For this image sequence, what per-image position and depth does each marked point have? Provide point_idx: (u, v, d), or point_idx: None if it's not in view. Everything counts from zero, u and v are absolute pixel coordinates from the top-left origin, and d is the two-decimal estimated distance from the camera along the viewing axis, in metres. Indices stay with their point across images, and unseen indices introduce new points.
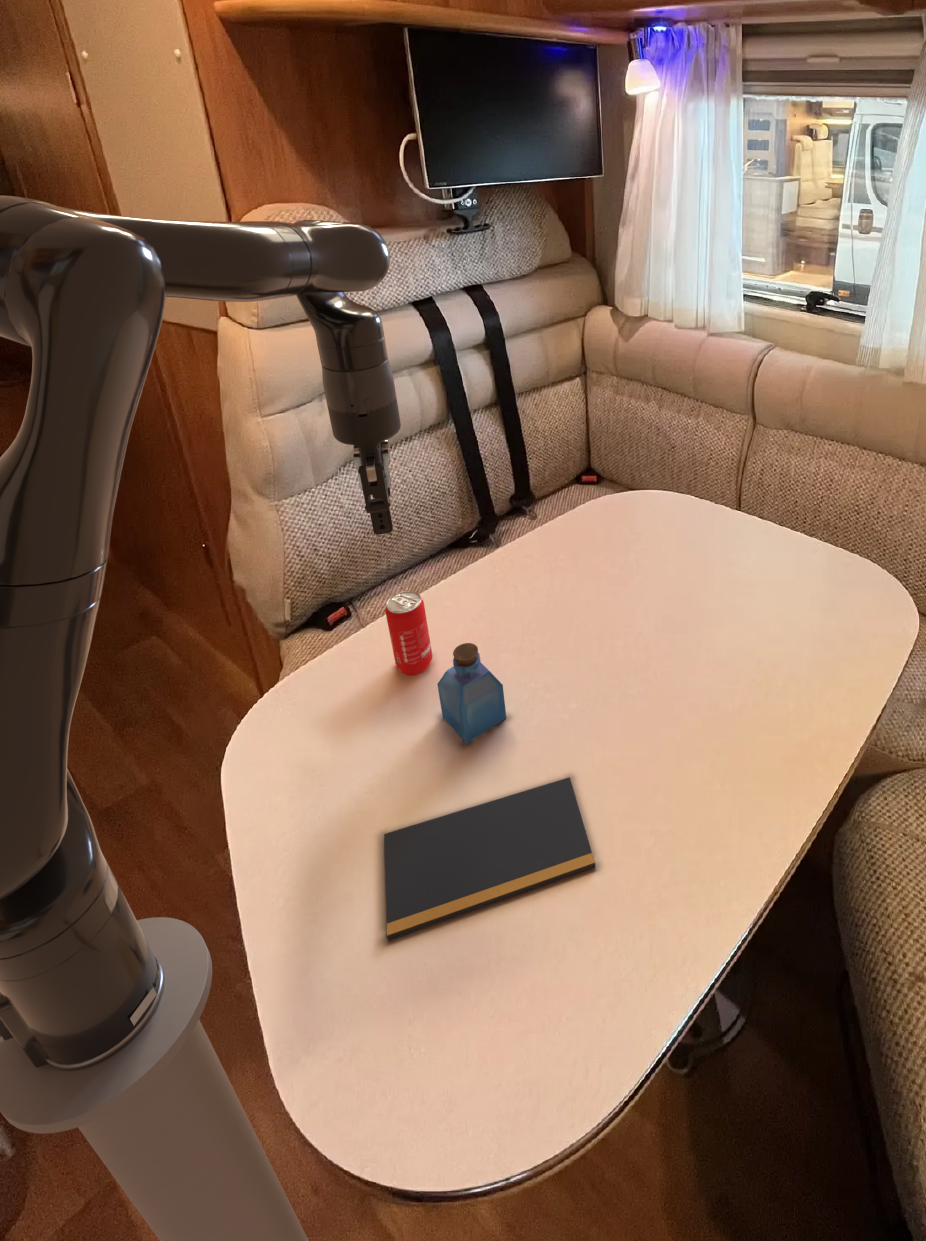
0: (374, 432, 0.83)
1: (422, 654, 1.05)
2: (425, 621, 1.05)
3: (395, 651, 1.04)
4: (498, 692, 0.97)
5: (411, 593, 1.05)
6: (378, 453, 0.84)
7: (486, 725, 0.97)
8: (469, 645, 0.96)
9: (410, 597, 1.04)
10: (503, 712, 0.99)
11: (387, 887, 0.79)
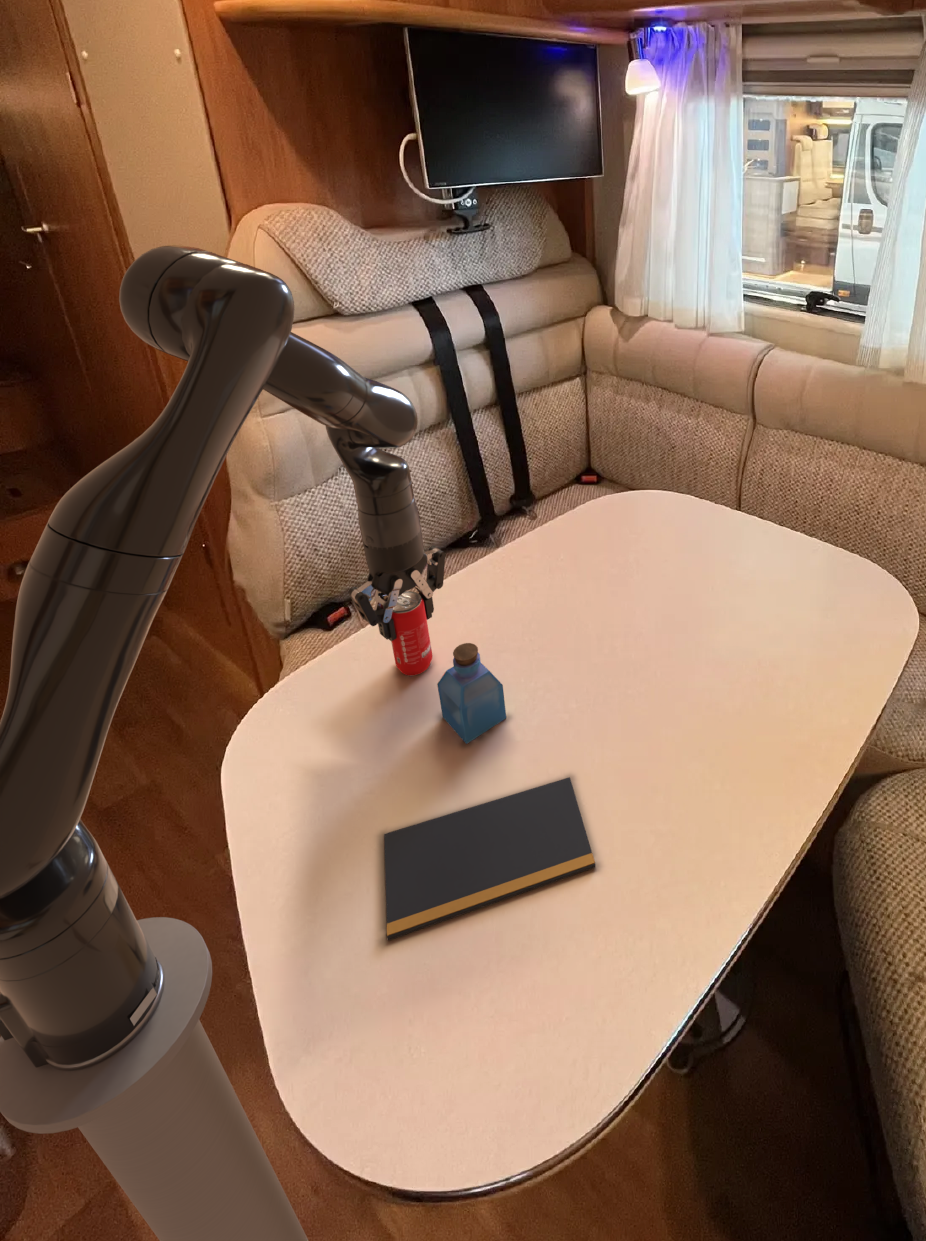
0: (373, 563, 0.96)
1: (422, 654, 1.05)
2: (425, 621, 1.05)
3: (395, 651, 1.04)
4: (498, 692, 0.97)
5: (411, 592, 1.05)
6: (376, 579, 0.97)
7: (486, 725, 0.97)
8: (469, 645, 0.96)
9: (410, 597, 1.04)
10: (503, 712, 0.99)
11: (387, 887, 0.79)
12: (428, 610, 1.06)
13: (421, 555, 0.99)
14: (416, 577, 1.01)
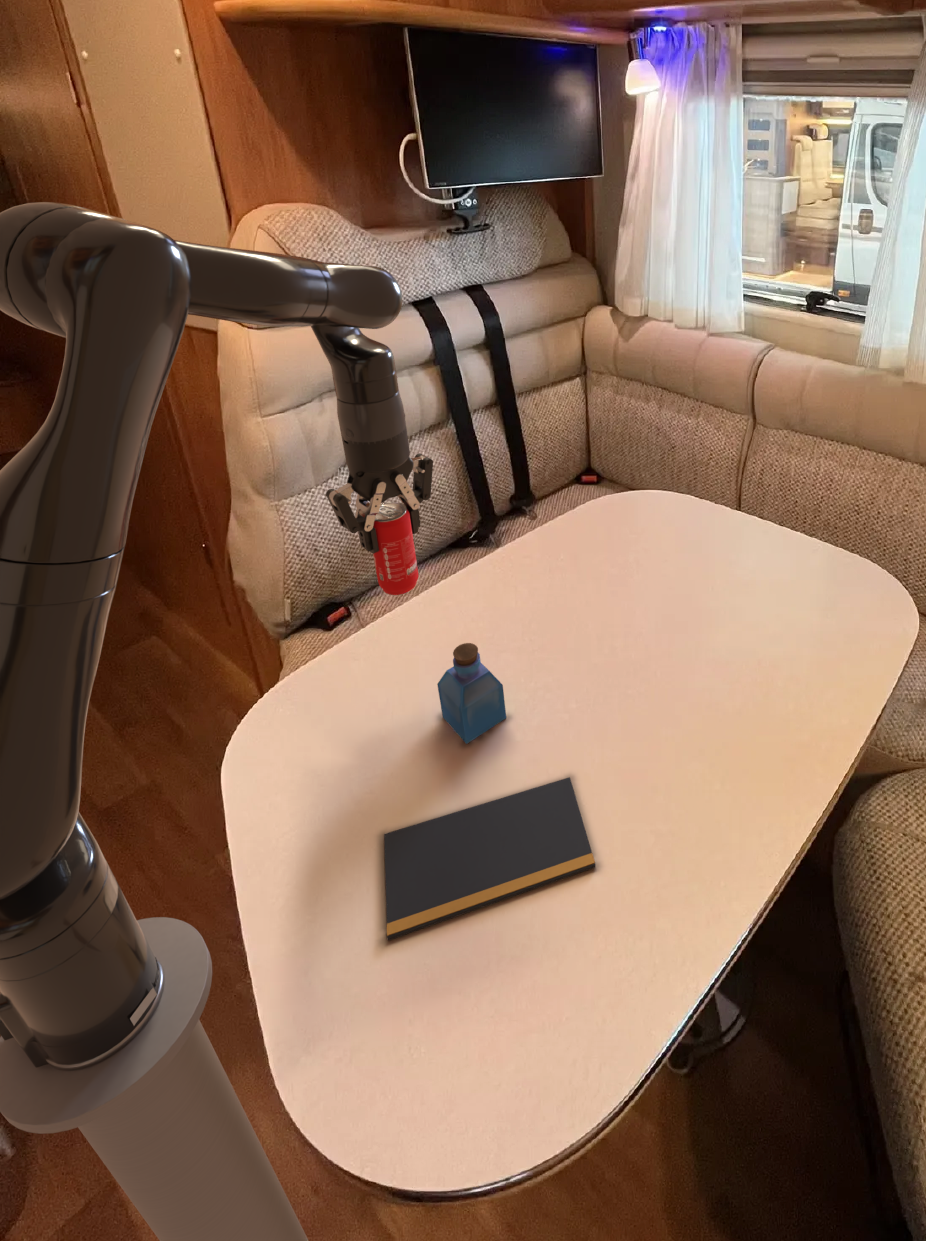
0: (354, 461, 0.88)
1: (407, 571, 0.97)
2: (411, 534, 0.96)
3: (378, 567, 0.96)
4: (498, 692, 0.97)
5: (395, 503, 0.96)
6: (357, 480, 0.89)
7: (486, 725, 0.97)
8: (469, 645, 0.96)
9: (395, 507, 0.96)
10: (503, 712, 0.99)
11: (387, 887, 0.79)
12: (414, 523, 0.97)
13: (406, 456, 0.91)
14: (401, 482, 0.93)
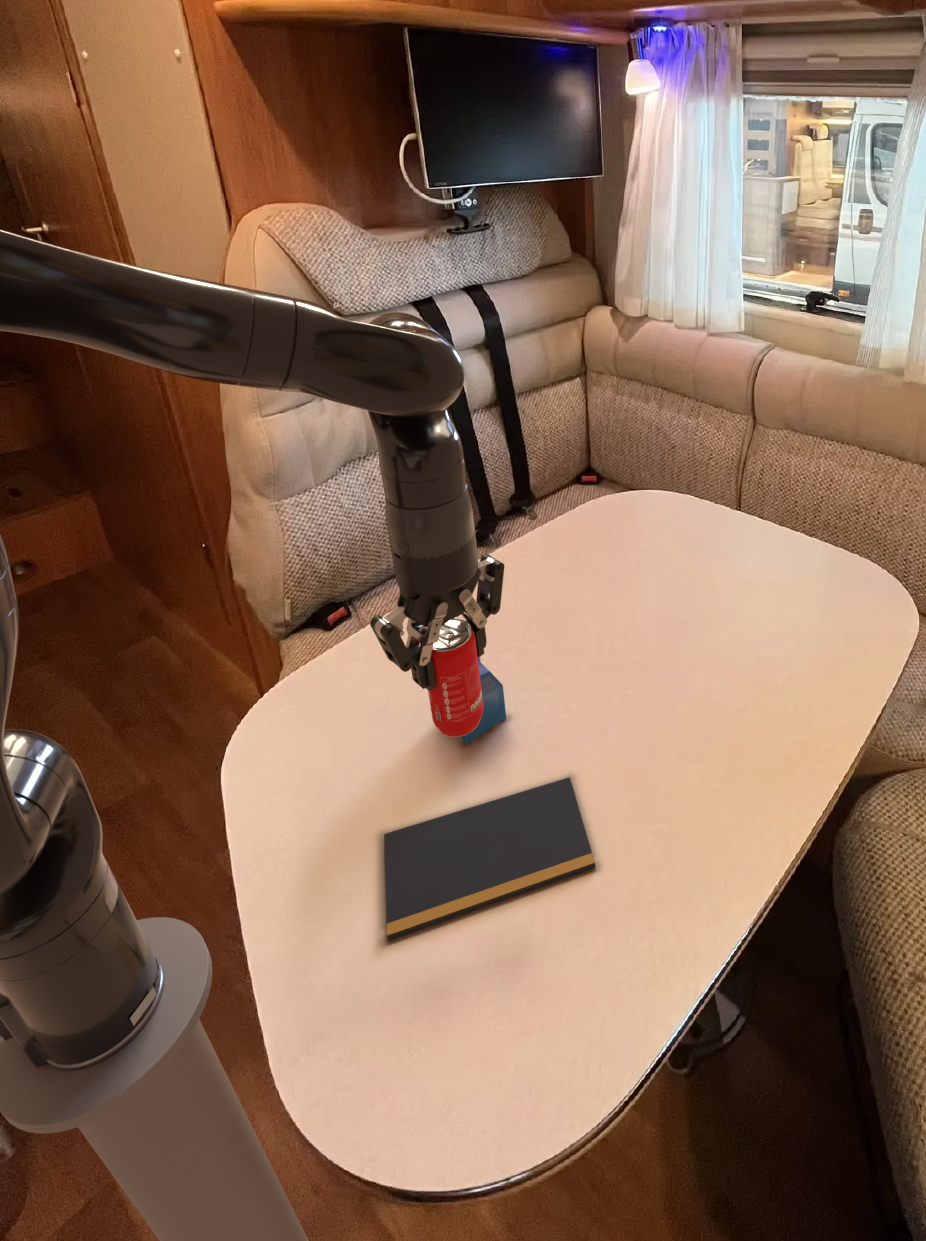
0: (407, 580, 0.65)
1: (472, 707, 0.75)
2: (476, 661, 0.74)
3: (434, 704, 0.74)
4: (498, 692, 0.97)
5: (456, 620, 0.74)
6: (411, 604, 0.66)
7: (486, 725, 0.97)
8: None
9: (456, 627, 0.73)
10: (503, 712, 0.99)
11: (387, 887, 0.79)
12: (479, 645, 0.75)
13: (475, 568, 0.68)
14: (466, 599, 0.70)
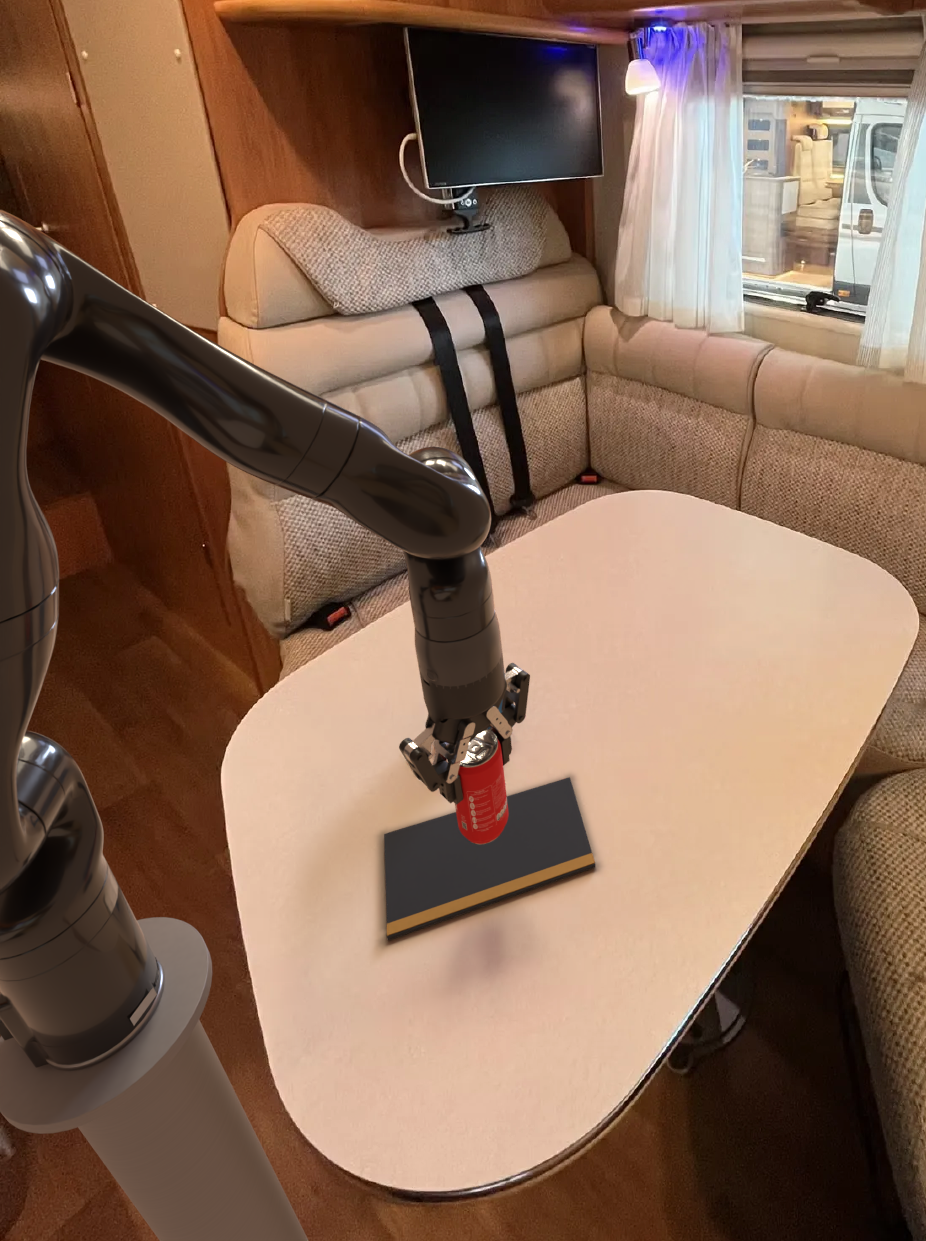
0: (436, 705, 0.65)
1: (498, 816, 0.75)
2: (502, 771, 0.74)
3: (460, 814, 0.74)
4: None
5: None
6: (439, 727, 0.67)
7: None
8: None
9: (482, 738, 0.73)
10: None
11: (387, 887, 0.79)
12: (505, 753, 0.75)
13: (502, 688, 0.68)
14: (493, 715, 0.71)
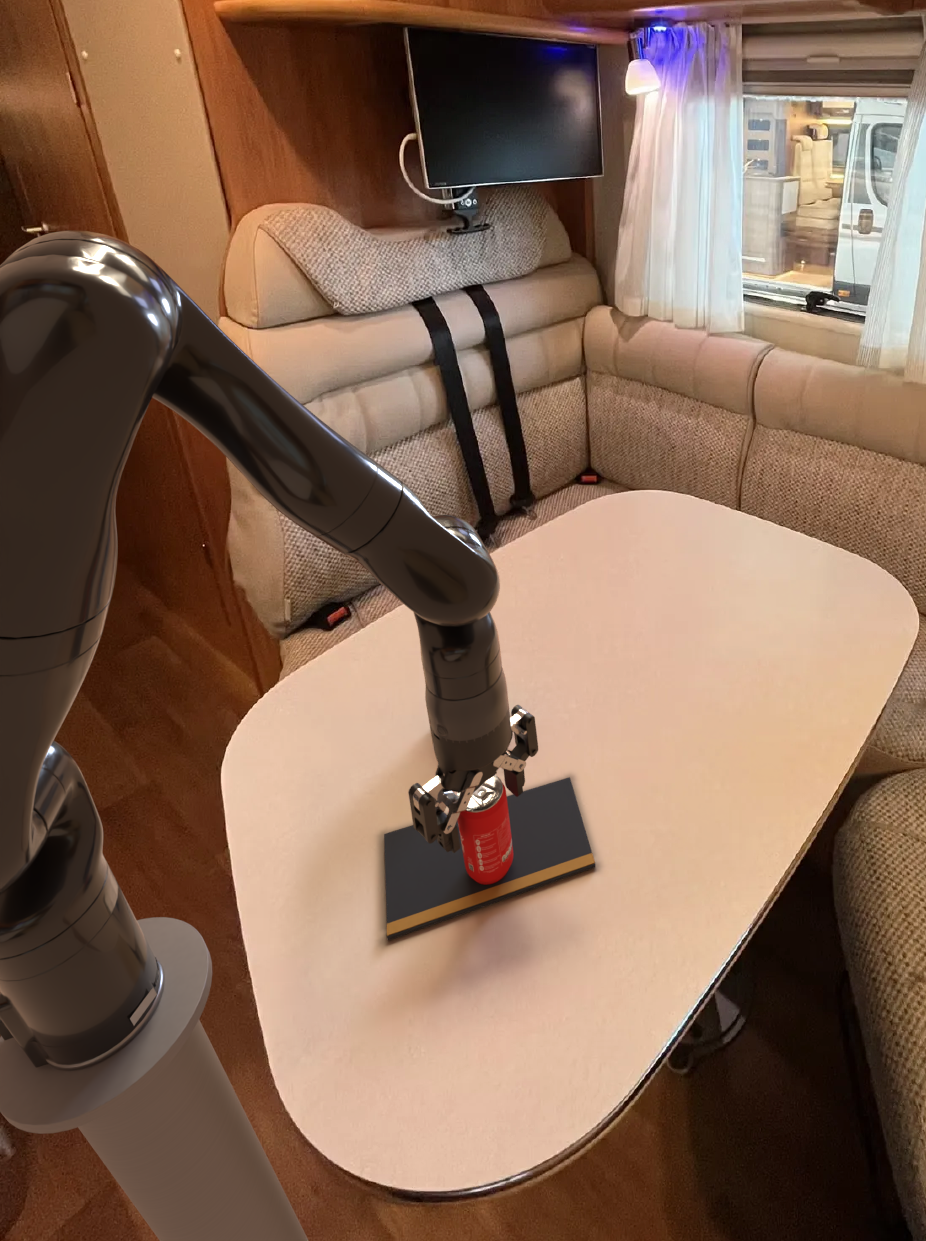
0: (446, 758, 0.68)
1: (503, 858, 0.78)
2: (507, 814, 0.77)
3: (467, 856, 0.77)
4: None
5: None
6: (448, 778, 0.70)
7: None
8: None
9: (488, 783, 0.77)
10: None
11: (387, 887, 0.79)
12: (519, 785, 0.79)
13: (509, 739, 0.72)
14: (499, 764, 0.74)
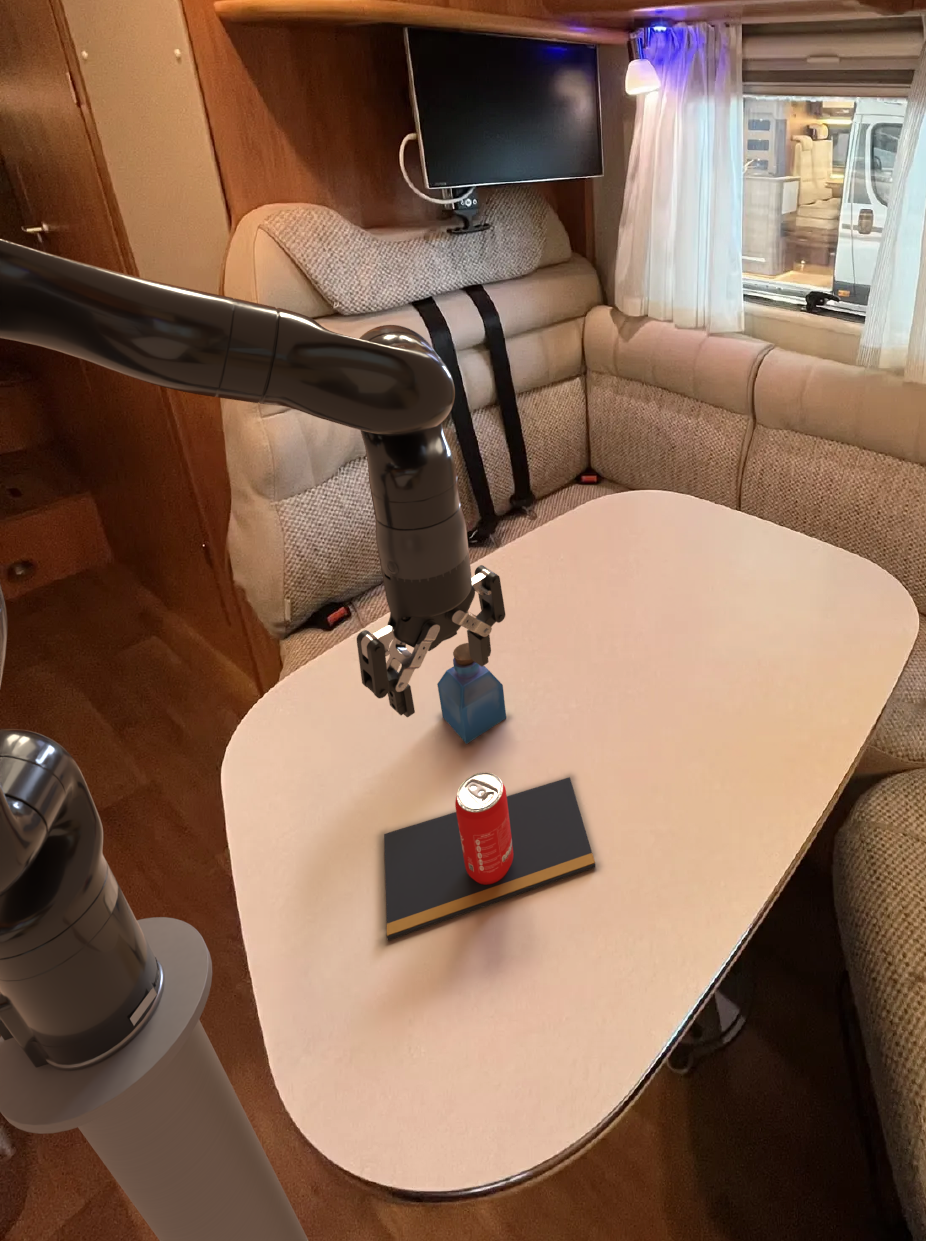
0: (398, 602, 0.63)
1: (503, 858, 0.78)
2: (507, 814, 0.77)
3: (467, 856, 0.77)
4: (498, 692, 0.97)
5: (488, 775, 0.78)
6: (401, 627, 0.64)
7: (486, 725, 0.97)
8: None
9: (488, 783, 0.77)
10: (503, 712, 0.99)
11: (387, 887, 0.79)
12: (484, 653, 0.73)
13: (468, 589, 0.66)
14: (459, 621, 0.68)
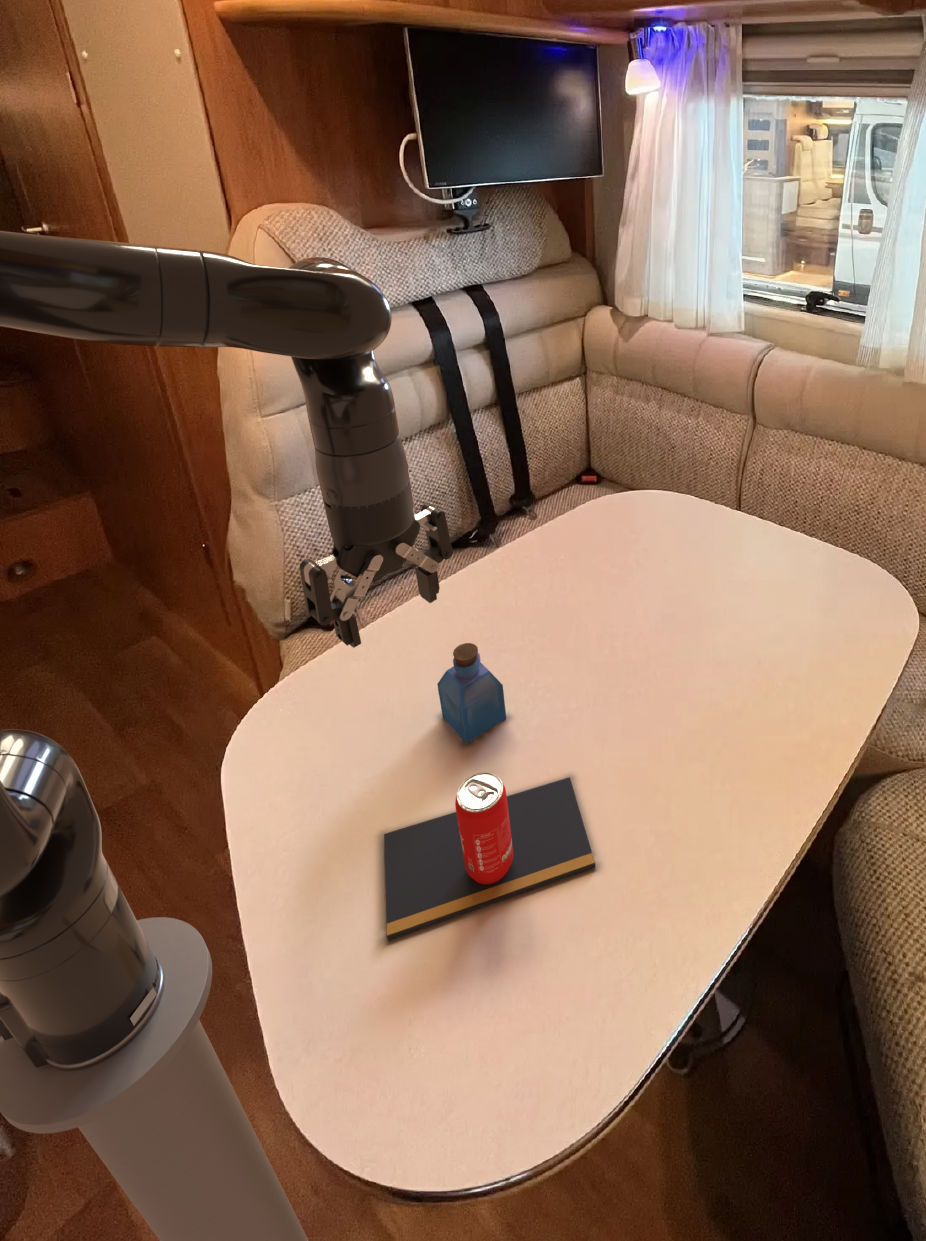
0: (339, 530, 0.65)
1: (503, 858, 0.78)
2: (507, 814, 0.77)
3: (467, 856, 0.77)
4: (498, 692, 0.97)
5: (488, 775, 0.78)
6: (343, 555, 0.66)
7: (486, 725, 0.97)
8: (469, 645, 0.96)
9: (488, 783, 0.77)
10: (503, 712, 0.99)
11: (387, 887, 0.79)
12: (431, 589, 0.75)
13: (410, 520, 0.68)
14: (403, 553, 0.70)
